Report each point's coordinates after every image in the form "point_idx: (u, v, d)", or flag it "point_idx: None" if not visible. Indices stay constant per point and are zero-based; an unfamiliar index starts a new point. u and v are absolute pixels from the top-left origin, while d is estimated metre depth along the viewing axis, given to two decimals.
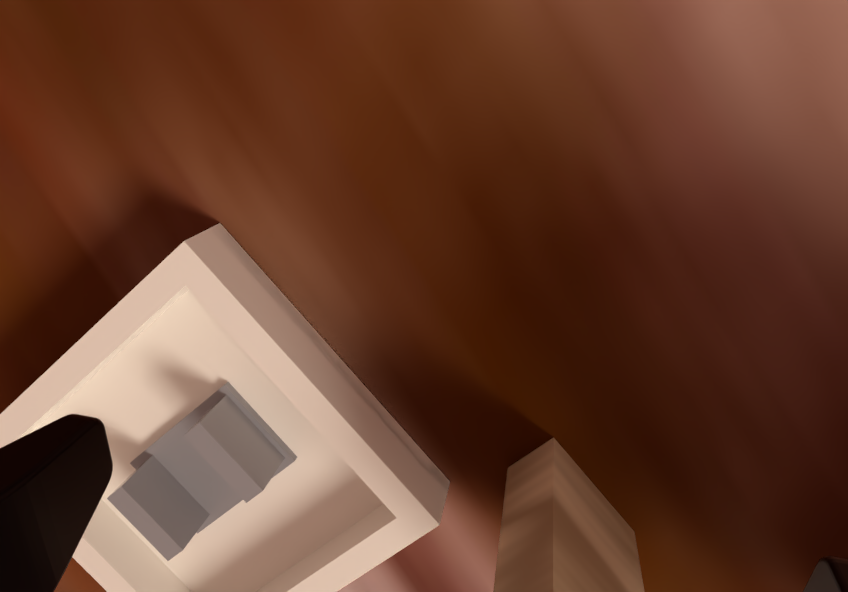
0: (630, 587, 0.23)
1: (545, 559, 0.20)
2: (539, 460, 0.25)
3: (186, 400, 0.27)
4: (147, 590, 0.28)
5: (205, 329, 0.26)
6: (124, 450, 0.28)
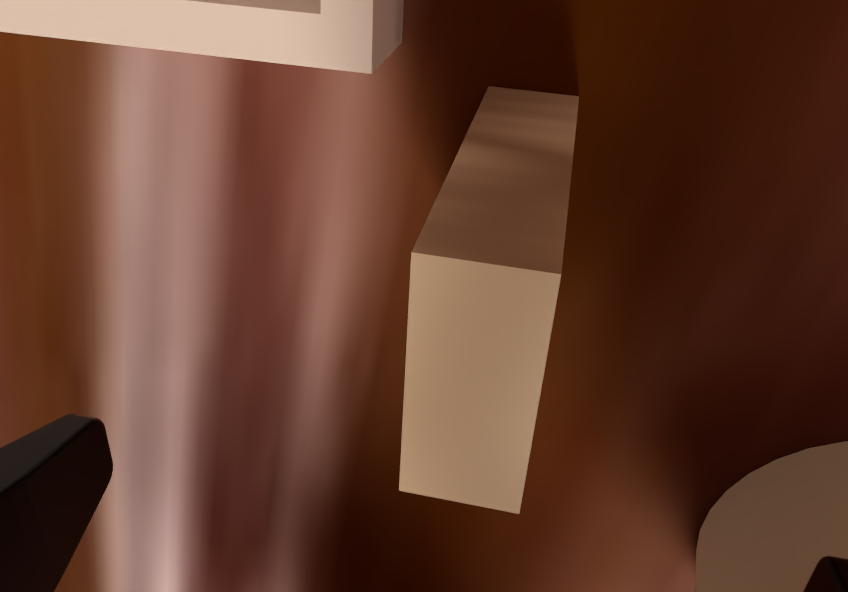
0: None
1: (549, 217, 0.11)
2: (549, 106, 0.16)
3: None
4: None
5: None
6: None
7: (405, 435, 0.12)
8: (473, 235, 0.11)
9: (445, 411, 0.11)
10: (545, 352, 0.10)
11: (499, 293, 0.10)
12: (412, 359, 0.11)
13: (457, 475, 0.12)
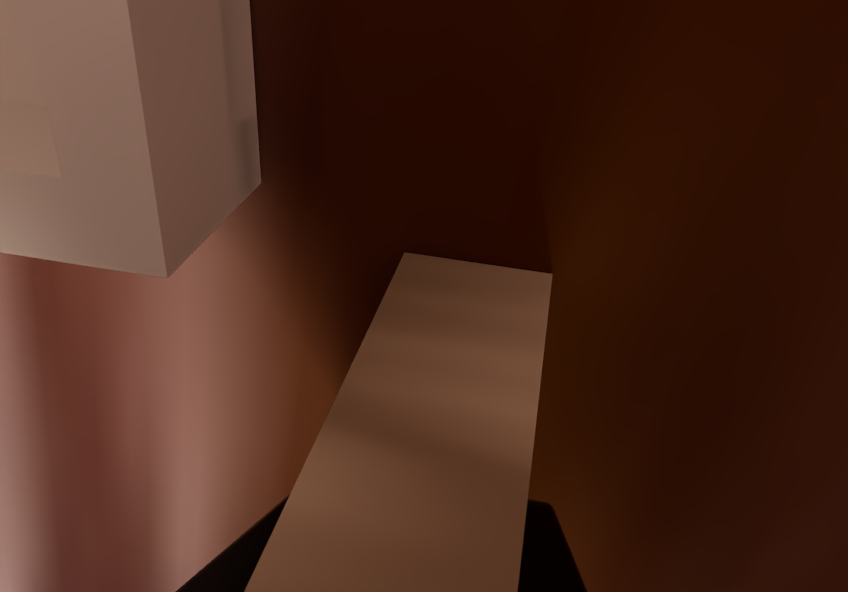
0: None
1: None
2: (500, 305, 0.09)
3: None
4: None
5: None
6: None
7: None
8: None
9: None
10: None
11: None
12: None
13: None
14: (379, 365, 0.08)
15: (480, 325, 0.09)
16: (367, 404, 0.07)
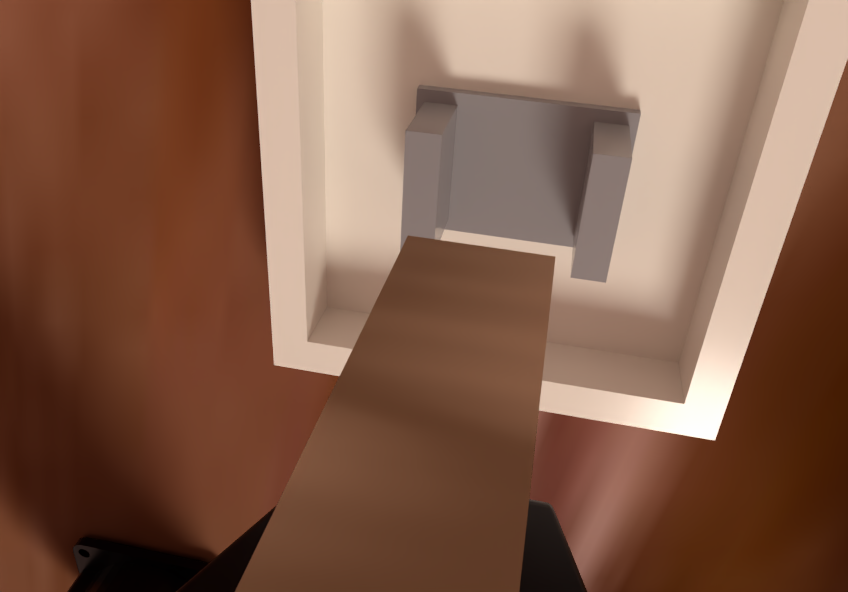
0: None
1: None
2: (504, 286, 0.09)
3: (565, 83, 0.17)
4: (308, 242, 0.19)
5: (692, 29, 0.16)
6: (418, 65, 0.18)
7: None
8: None
9: None
10: None
11: None
12: None
13: None
14: (384, 343, 0.08)
15: (484, 305, 0.09)
16: (372, 380, 0.08)
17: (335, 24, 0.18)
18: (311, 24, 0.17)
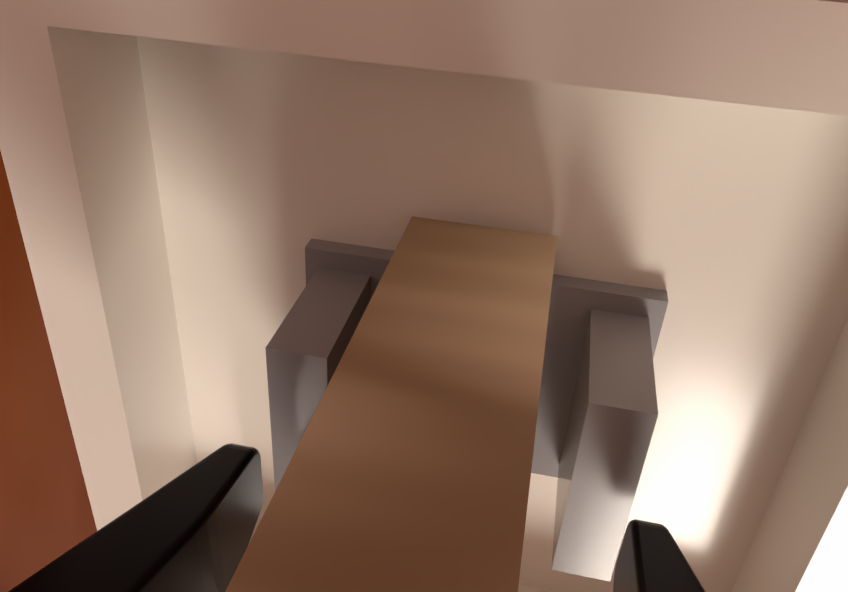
0: None
1: None
2: (506, 263, 0.09)
3: None
4: (150, 467, 0.13)
5: (760, 174, 0.09)
6: (307, 210, 0.11)
7: None
8: None
9: None
10: None
11: None
12: None
13: None
14: (389, 317, 0.08)
15: (487, 282, 0.09)
16: (378, 351, 0.08)
17: (171, 145, 0.11)
18: (119, 153, 0.10)
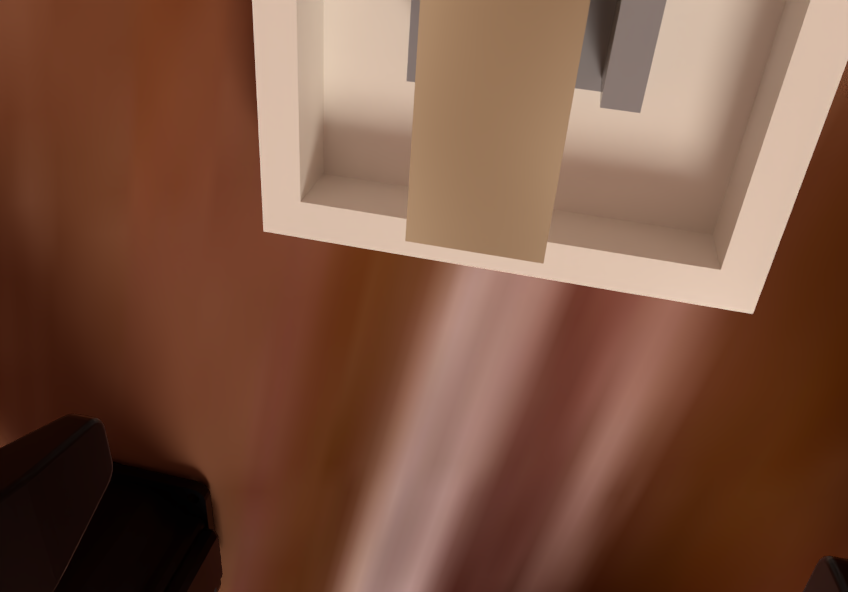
0: None
1: None
2: None
3: None
4: (303, 81, 0.17)
5: None
6: None
7: (413, 160, 0.10)
8: None
9: (462, 122, 0.10)
10: (583, 26, 0.09)
11: None
12: (424, 49, 0.09)
13: (473, 214, 0.10)
14: None
15: None
16: None
17: None
18: None
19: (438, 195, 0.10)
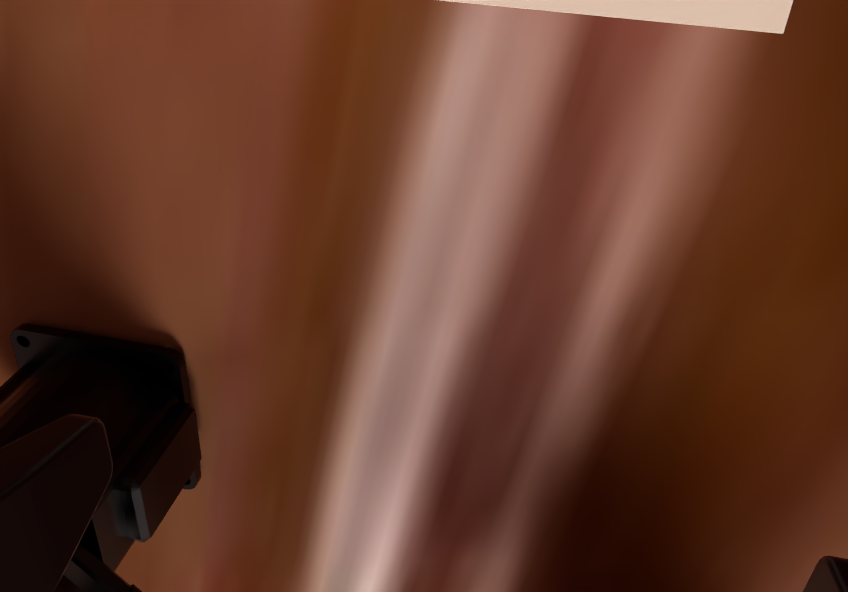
0: None
1: None
2: None
3: None
4: None
5: None
6: None
7: None
8: None
9: None
10: None
11: None
12: None
13: None
14: None
15: None
16: None
17: None
18: None
19: None
